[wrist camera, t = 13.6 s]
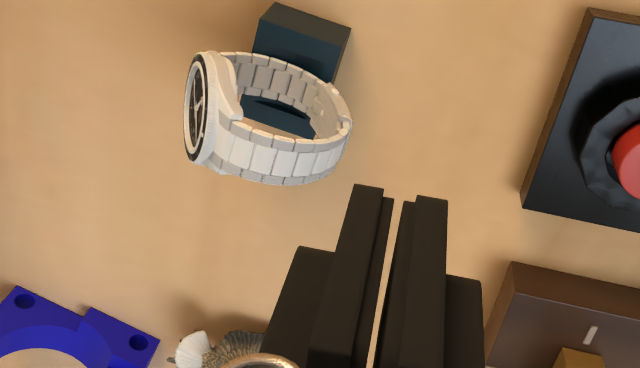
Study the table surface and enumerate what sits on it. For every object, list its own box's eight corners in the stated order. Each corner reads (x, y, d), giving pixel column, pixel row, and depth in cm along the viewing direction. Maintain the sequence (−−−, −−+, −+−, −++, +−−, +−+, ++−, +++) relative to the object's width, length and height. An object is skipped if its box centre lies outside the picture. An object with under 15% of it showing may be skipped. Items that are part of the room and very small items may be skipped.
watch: (240, -10, 33) (156, 59, 24) (382, 39, 33) (353, 128, 24) (221, 82, 36) (139, 176, 27) (351, 128, 36) (314, 237, 27)
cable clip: (160, 340, 49) (125, 401, 44) (145, 372, 51) (110, 433, 46) (20, 273, 48) (-32, 327, 43) (11, 309, 50) (-39, 364, 45)
